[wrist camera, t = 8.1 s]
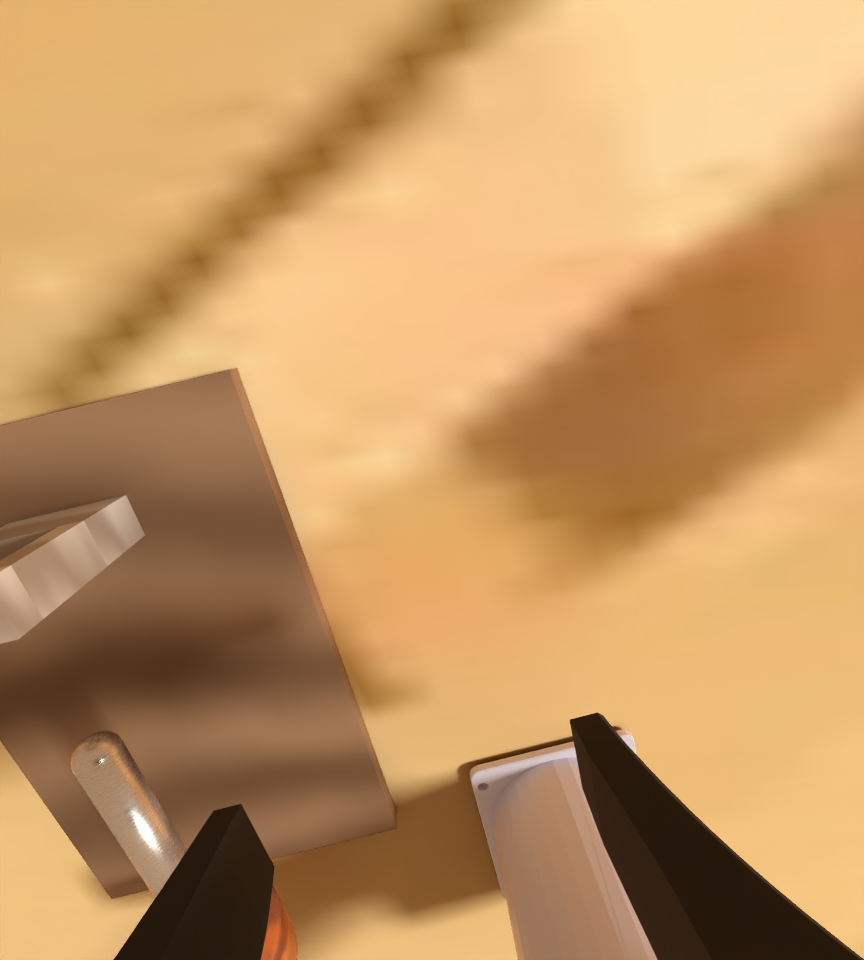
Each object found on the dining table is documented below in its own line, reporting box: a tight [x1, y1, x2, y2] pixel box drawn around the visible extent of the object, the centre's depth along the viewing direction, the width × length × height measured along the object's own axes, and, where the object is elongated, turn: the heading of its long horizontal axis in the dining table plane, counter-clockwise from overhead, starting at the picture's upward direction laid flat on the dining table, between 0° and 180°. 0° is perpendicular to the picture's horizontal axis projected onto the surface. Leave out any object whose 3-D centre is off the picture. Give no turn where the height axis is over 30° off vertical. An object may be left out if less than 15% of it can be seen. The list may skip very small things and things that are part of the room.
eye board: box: [0, 368, 396, 899], centre depth 16 cm, size 22×14×7 cm, turn 13°
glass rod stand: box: [71, 731, 297, 960], centre depth 17 cm, size 13×5×5 cm, turn 13°
